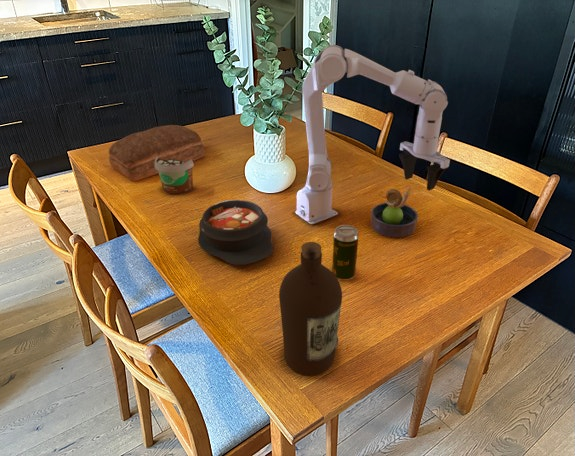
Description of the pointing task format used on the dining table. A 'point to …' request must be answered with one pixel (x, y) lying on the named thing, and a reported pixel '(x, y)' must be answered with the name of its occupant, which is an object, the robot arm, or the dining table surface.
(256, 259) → the casserole
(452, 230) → the dining table surface
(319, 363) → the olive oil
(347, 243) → the beer can
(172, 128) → the bread
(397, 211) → the snail figurine
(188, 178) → the food container
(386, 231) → the bowl
